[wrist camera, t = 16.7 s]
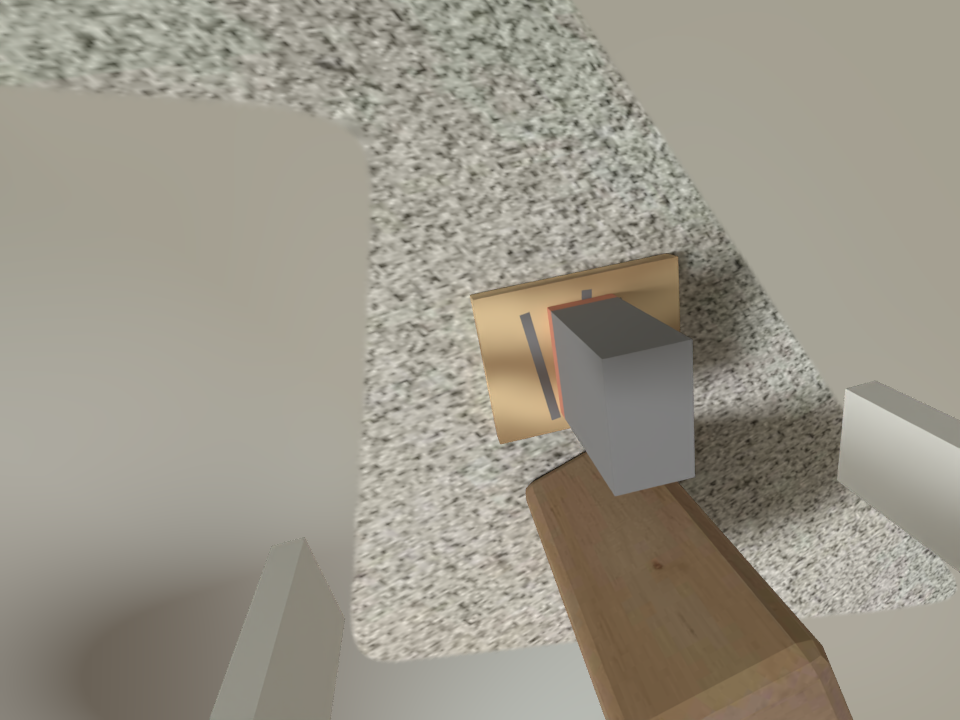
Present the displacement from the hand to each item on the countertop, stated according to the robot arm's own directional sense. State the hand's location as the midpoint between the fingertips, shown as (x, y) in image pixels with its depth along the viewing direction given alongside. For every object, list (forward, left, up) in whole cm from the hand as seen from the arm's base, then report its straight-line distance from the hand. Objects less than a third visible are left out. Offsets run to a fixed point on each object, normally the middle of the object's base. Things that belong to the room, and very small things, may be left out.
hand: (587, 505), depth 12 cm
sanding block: (+6, +7, -21) cm, 23 cm away
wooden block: (+19, +7, -23) cm, 31 cm away
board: (+5, +7, -23) cm, 24 cm away
